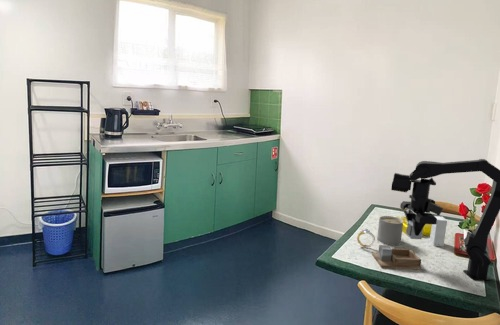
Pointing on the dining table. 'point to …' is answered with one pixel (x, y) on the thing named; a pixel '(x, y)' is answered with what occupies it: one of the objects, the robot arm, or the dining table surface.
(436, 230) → the skincare box
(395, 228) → the coffee mug
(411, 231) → the block
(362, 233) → the ring
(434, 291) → the dining table surface
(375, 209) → the dining table surface
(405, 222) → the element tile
